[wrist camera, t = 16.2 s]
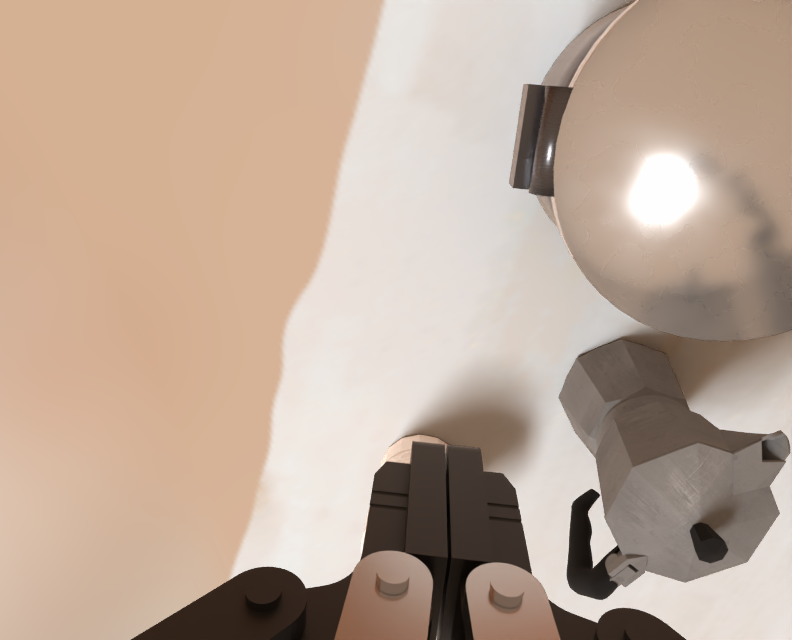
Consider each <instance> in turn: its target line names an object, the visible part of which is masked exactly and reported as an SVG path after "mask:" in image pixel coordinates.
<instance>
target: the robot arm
mask: <svg viewBox="0 0 792 640" xmlns="http://www.w3.org/2000/svg"><path fill="white" fill-rule="evenodd" d="M518 507H519V505H518V500H517V495H516V490H515V488H514V487H513V486H512V484H511V483H510V482H509V481H508V479H507V478H506V477H505V476H504V474H503V473H493V472H484V471H483V464H482V456H481V449H480V448H475V447H466V446H456V445H447V447H446V453H445V444H436V443H427V442H417V441H412V448H411V457H410V464H408V463H399V462H389V461H386V462H385V463H384V464H383V466H382V467H381V468H380V469H379V470H378V471H377V472H376V473H375V475H374V482H373V488H372V494H371V500H370V507H369V513H368V519H367V526H366V532H365V538H364V544H363V551H362V556H361V560H360V562H359V563H358V564H357V565H356V567H355V569H354V571H353V572H352V573H351V574H350V575H349V576H347V577H346V578H344V579H342V580H340V581H338V582H336V583H333V584H330V585H325V586H320V587H313V588H307V589H306V588H305V586H304V584H303V582H302V581H301V580H300V579H299V578H298V577H297V576H296V575H295V574H293V573H292V572H289V571H287V570H285V569H281V568H276V567H259V568H254V569H250V570H248V571H245V572H243V573H241V574H239V575H237V576H236V577H234V578H232V579H231V580H229V581H227V582H226V583H224V584H222V585H221V586H219V587H217V588H216V589H214V590H212V591H211V592H209V593H207V594H206V595H204V596H203V597H201V598H199V599H198V600H196V601H194V602H192V603H191V604H190V605H187V606H186V607H184V608H183V609H181V610H179V611H178V612H176V613H174V614H173V615H171V616H169V617H168V618H166V619H164V620H163V621H161V622H159V623H158V624H156V625H154V626H153V627H151V628H150V629H148V630H146V631H145V632H143V633H141V634H139V635H138V636H136V637H134V638H133V639H131V640H436V636H437V640H686V639H685V638H684V637H682V636H681V635H680V634H679V633H677V632H676V631H675V630H673V629H672V628H671V627H670V626H668V625H667V624H666V623H664V622H663V621H661V620H660V619H658V618H656V617H655V616H653V615H651V614H648V613H646V612H643V611H640V610H636V609H631V608H617V609H613V610H610V611H608V612H606V613H605V614H603V615H602V616H601V618H600V619H599V621H598V623H596V622H593V621H591V620H588V619H585V618H583V617H580V616H577V615H574V614H572V613H570V612H567V611H565V610H563V609H562V608H560V607H558V606H557V605H555V604H554V603H552V602H551V601H550V600H549V599H548V597H547V594H546V592H545V589H544V588H543V586H542V585H541V583H540V582H539V581H538V580H537V579H536V578H535V577H534V576H533V575H532V572H531V567H530V561H529V556H528V551H527V546H526V541H525V536H524V531H523V526H522V523H521V515H520V510H519V509H518Z"/></svg>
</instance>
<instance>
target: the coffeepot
mask: <svg viewBox="0 0 792 640" xmlns="http://www.w3.org/2000/svg"><path fill="white" fill-rule="evenodd" d="M559 399H560V401H561V404H562V406H563V408H564V410H565V412H566V414H567V416H568V418H569V420H570V422H571V425H572V427H573V429H574V431H575V433H576V434H577V435H578V437H579V438H580V439H581V440H582V442H583V443H584V444H585V445H586V447H587V448H588V449H589V450H590V452H591V453H592V454H593V455H594V457H595V458H596V463H597V469H598V476H599V482H600V488H601V494H602V501H603V507H604V513H605V516H604V517H605V520H606V522H607V524H608V526H609V528H610V530H611V532H612V534H613V536H614V538H615V540H616V542H617V544H618V545H617V546H616V547H615V548H614V549H613V550H612V551H610V552H609V553H608V554H607V555H606V556H605V557H604V558H603V559H602V560H601V561H600V562H599V563H598V564H597V565H596V566H595V567H594V568H593V561H592V553H591V547H590V540H591V535H592V528H591V523H590V520H589V517H588V511H589V509H590V508H591V506H592V505H593V504H594V502H595V501H596V500H597V498H599V496H600V494H599V493H597V492H596V491H595V490H593V489H590V490H589V491H587V492H586V493H584V494H582V495H581V496H580V497H578V498H577V499H576V500H575V501H574V502H573V504H572V511H571V522H570V536H569V554H568V565H567V580H568V584H569V586H570V588H571V589H572V590H574V591H575V592H576V593H578V594H580V595H584V596H587V597H591V598H594V599H598V600H603V599H606V598H607V597H608V596H609V595H611V594H612V593H613V592H614V590H615V589H616V588H617V587H618V586H620V585H621V584H622V585H623V586H624V587H626V586H628V585H629V584H630V583H632V582H633V581H634V580H636V579H637V578H638V577H640V576H641V575H642V574H644V573H645V571H649V572H652V573H655V574H658V575H662V576H665V577H668V578H672V579H675V580H678V581H682V582H688V581H691V580H694V579H697V578H700V577H703V576H707V575H710V574H713V573H716V572H719V571H722V570H725V569H728V568H731V567H734V566H737V565H740V564H743V563H746V562H748V560H749V559H750V557H751V556H752V554H753V553H754V551H755V550H756V548H757V547H758V545H759V544H760V542H761V541H762V539H763V538H764V536H765V535H766V533H767V532H768V530H769V529H770V527H771V526H772V524H773V523H774V521H775V520H776V518H777V517H778V515H779V514H780V513H779V510H778V507H777V505H776V502H775V499H774V497H773V494H772V491H771V489H770V485H771V483H772V482H773V480H774V479H775V477H776V476H777V474H778V473H779V471H780V470H781V468H782V467H783V465H784V464H785V462H786V461H784V460H785V459H786V458H787V456H788V455H789V454H790V444H789V440H788V438H787V436H786V435H785V434H784V433H783V432H782V431H781V430H780V431H777V432H775V433H772V434H754V433H744V432H736V431H727V430H719V429H718V428H717V427H715V426H714V425H713V424H711V423H710V422H709V421H708V420H706V419H705V418H704V417H702V416H701V415H700V414H697V413H694V412H692V411H690V410H689V407H688V405H687V403H686V400H685V398H684V396H683V393H682V391H681V389H680V386H679V384H678V382H677V379H676V377H675V375H674V372H673V370H672V368H671V365H670V363H669V360H668V358H667V356H666V353H663V352H660V351H657V350H654V349H651V348H649V347H646V346H644V345H641V344H636V343H632V342H629V341H626V340H623V339H621V340H618V341H615V342H612V343H609V344H606V345H603V346H600V347H598V348H596V349H594V350H592V351H590V352H588V353H587V354H585V355H583V356H581V357H578V358H577V359H576V361H575V363H574V365H573V367H572V368H571V370H570V372H569V373H568V375H567V377H566V380H565V383H564V386H563V389H562V391H561V393H560V395H559Z"/></svg>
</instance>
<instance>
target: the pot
mask: <svg viewBox="0 0 792 640" xmlns="http://www.w3.org/2000/svg"><path fill="white" fill-rule="evenodd" d="M629 6H630V5H628V6H626V7H624V8H621V9H619V10H616V11H614V12H612V13H610V14H608V15H607V16H605V17H603V18H601V19H600V20H598V21H596V22H595V23H594V24H592V25H591V26H590V27H588V28H587V29H586V30H584V31H583V32H582V33H580V34H579V35H578V36H577V37H576V38H575V39H574V40H573V41H572V42H571V43H570V44H569V45H568V46H567V47H566V48H565V50H564V51H563V52H562V53H561V54H560V56H559V57H558V58H557V59H556V60H555V62H554V63H553V65H552V67H551V68H550V70H549V71H548V73H547V74H546V76H545V78H544V80H543V82H542V84H541V85H532V84H524V85H523V92H522V99H521V106H520V113H519V119H518V126H517V133H516V140H515V146H514V153H513V160H512V167H511V174H510V180H509V183H510V185H511V186H512V187H513V188H519V189H529V187H530V181H531V175H532V168H533V162H534V156H535V149H536V143H537V137H538V131H539V124H540V118H541V112H542V105H543V99H544V93H545V87H546V85H548V86H561V87H568V86H569V85H570V83H571V81H572V79H573V77H574V75H575V73H576V71H577V69H578V67H579V65H580V64H581V62H582V61H583V59H584V58H585V56H586V55H587V53H588V52H589V50H590V49H591V47H592V46H593V44H594V43H595V42H596V41H597V39H598V38H599V37H600V36H601V35H602V34H603V32H604V31H605V30H606V29H607V28H608V26H609V25H610V24H611V23H612V22H613V21H614V20H615V19H616V18H617V17H618V16H619V15H620V14H621V13H622V12H623V11H625V10H626V9H627V8H628V7H629ZM536 196H537V198H538V200H539V202H540V204H541V206H542V207H543V209H544V210H545V212H546V213H547V215H548V217H549V218H550V219H551V220H552V221H553V223H554V224H555V225H556V226H557V227H558V225H557V222H556V219H555V216H554V212H553V207H552V201H551V197H548V196H540V195H536Z"/></svg>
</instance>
